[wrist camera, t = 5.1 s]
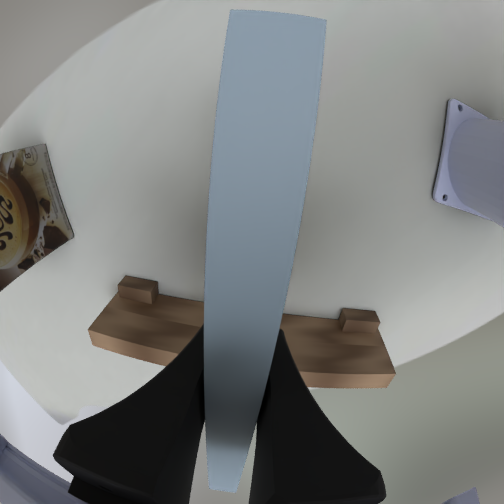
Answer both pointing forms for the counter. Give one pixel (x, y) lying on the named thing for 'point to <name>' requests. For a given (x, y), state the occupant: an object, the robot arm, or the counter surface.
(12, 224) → the coffee box
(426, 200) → the counter surface
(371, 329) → the walnut slotted plate
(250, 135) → the grey notched plate
